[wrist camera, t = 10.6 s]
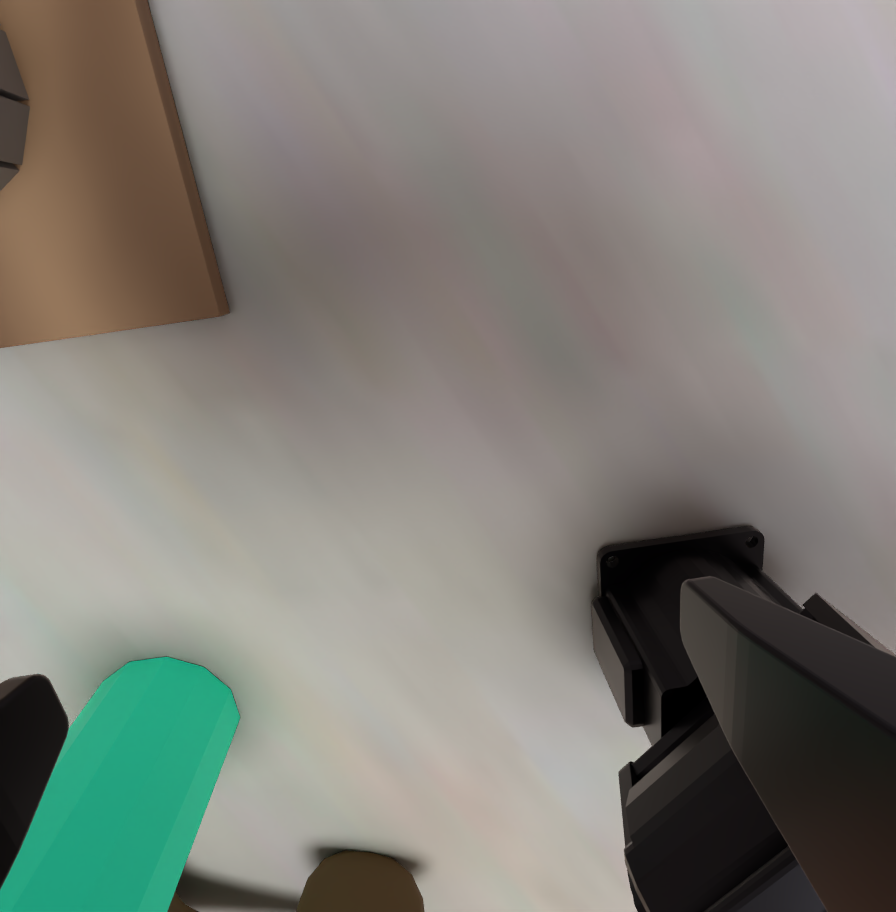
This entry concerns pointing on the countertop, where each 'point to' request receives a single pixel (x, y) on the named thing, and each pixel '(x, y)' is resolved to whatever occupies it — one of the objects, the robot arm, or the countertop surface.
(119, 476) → the countertop surface
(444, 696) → the countertop surface
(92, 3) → the square brown plate
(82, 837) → the candle
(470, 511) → the countertop surface
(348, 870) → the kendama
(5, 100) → the gray faceted pot
